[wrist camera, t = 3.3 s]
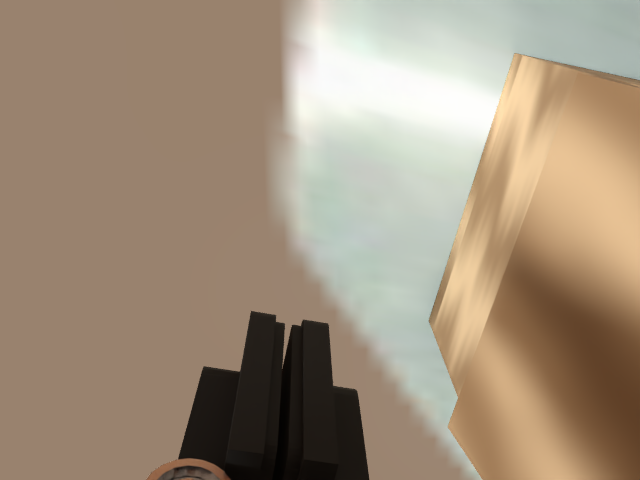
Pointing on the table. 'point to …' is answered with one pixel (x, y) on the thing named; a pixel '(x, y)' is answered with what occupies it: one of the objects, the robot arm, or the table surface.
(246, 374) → the robot arm
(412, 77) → the table surface
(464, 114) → the table surface
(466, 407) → the lid
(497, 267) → the box
